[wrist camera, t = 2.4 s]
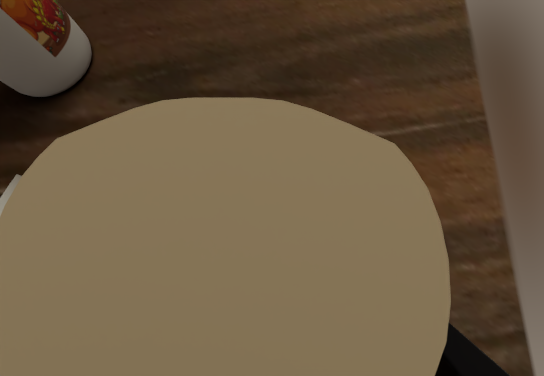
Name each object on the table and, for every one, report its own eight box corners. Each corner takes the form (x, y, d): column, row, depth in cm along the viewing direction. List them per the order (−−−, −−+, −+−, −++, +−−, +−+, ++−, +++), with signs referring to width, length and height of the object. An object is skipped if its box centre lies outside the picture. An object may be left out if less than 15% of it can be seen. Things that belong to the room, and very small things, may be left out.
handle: (322, 309, 17) (481, 503, 3) (221, 303, 18) (-79, 440, 3) (321, 232, 18) (426, 97, 4) (228, 228, 19) (40, 97, 5)
